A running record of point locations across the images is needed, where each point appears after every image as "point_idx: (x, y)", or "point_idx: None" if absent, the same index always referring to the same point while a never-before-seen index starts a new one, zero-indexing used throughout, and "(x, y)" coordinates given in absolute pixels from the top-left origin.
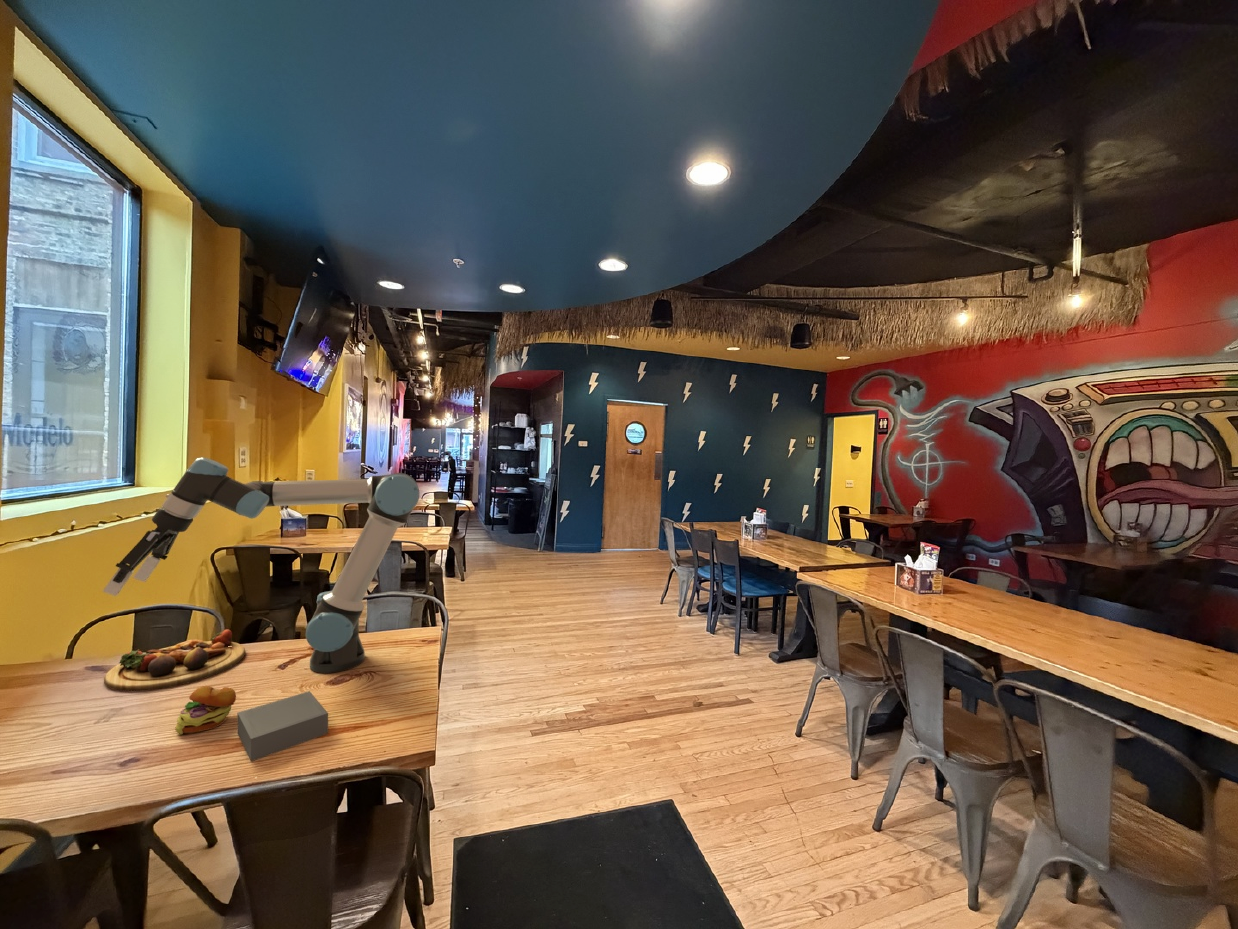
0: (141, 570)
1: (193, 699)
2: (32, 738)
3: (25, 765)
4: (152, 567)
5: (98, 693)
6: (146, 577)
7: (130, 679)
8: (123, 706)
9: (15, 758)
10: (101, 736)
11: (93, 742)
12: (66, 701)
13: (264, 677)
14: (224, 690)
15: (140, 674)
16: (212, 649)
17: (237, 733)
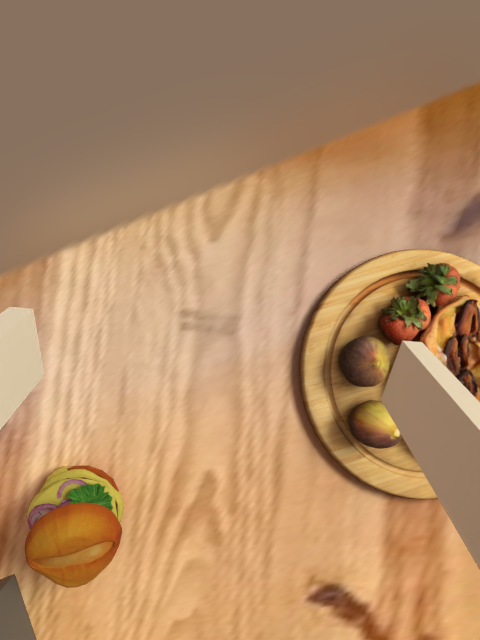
0: (432, 398)
1: (35, 523)
2: (163, 236)
3: (59, 269)
4: (439, 483)
5: (328, 265)
6: (395, 418)
7: (355, 306)
8: (240, 332)
9: (94, 243)
10: (118, 342)
11: (98, 338)
12: (311, 225)
13: (276, 566)
14: (60, 577)
15: (371, 318)
16: None
17: (11, 575)
